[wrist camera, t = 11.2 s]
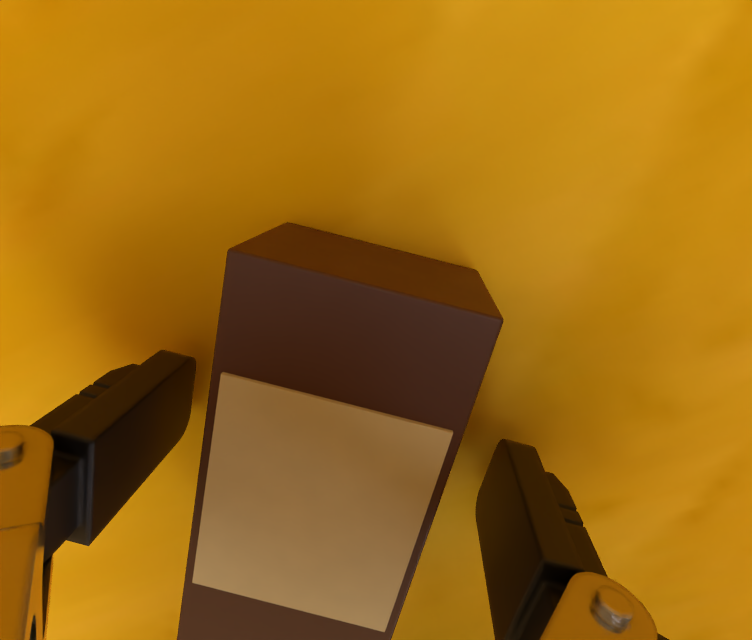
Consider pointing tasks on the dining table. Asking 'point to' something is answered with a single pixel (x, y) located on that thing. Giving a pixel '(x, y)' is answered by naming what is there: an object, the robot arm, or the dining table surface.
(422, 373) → the oat bar
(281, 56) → the dining table surface
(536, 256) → the dining table surface
